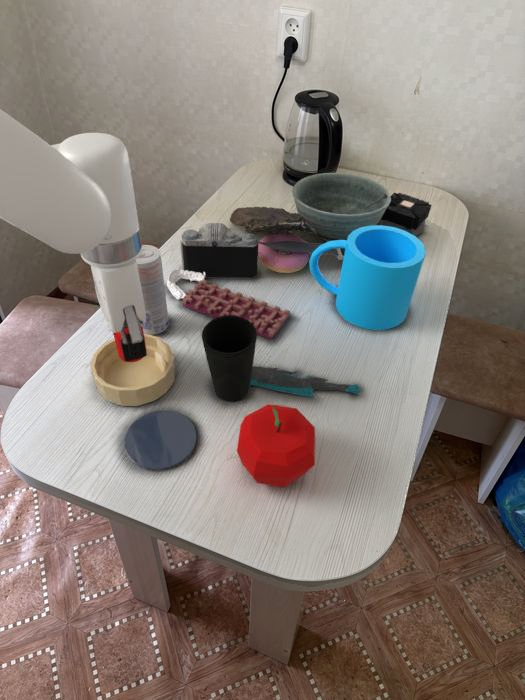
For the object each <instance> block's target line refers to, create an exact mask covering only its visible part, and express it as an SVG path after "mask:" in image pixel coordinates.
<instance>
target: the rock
mask: <svg viewBox="0 0 525 700" xmlns="http://www.w3.org/2000/svg"><path fill="white" fill-rule="evenodd" d="M229 222H230V223H231V224H232V225H234V226H237V227H241V228H242V229H244V230H249V231H250V230H251V231H255V232H261V231H264V232H272V233H273V232H276V233H280V234H286V233H289V232H290V233H291V232H298V231H299V232H301V233H311V234H313V235H315V234H316V231H315V228H313V227H312V224H311V223H309V222H308V220H307V219H305V218H304V217H303V216H301V214H299V213H298V212H289V211H287V210H286V209H284V208H281V207H280V208H278V207H271V206H270V207H267V206H261V207H260V206H247V207H237V208H235V209H234V210H232V213H231V215H230V217H229Z"/></svg>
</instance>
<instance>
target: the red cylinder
mask: <svg viewBox="0 0 525 700" xmlns="http://www.w3.org/2000/svg"><path fill="white" fill-rule="evenodd" d="M141 330H142V334H143V336H144V332H143V327H142V326H141ZM125 333H126V334H128V333H129V330H128V328H125ZM112 334H113V338H115V343H116V347H117V352H118V356H119V358H120V359H121V360H123V361H125V359H124V356H123V351H122V346H121V342H120V340H122V337H121V333H120V332H116V333H113V332H112ZM144 342H145V338H144ZM145 347H146V344H145ZM146 352H147V350H146ZM142 358H143V357H142ZM142 358H139V359H135V360H132V361H128V362H136V361H139V360H141V359H142ZM125 362H126V361H125Z"/></svg>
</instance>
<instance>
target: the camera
mask: <svg viewBox="0 0 525 700" xmlns="http://www.w3.org/2000/svg"><path fill="white" fill-rule="evenodd" d="M179 242H180V243H179V244H180V256H181V267H182V269H183V270H185V271H186V270H188V271H189V272H190V271H193V272H196V273H197V272H200V273H202V274H204V273H203V272H205V275H206V276H205V278H204V279H247V280H253V279H254V278H256V277H257V275H258V266H259V257H258V246H259V243H258V242H259V240H258V237H257V235H255V234H253V233H244V234H243V235H242V232H239V231H238V232H237V231H232V229H231V228H229V227H228V226H227V225H226V224H224V223H222V222H207V223H206V224H204V225H203V226H202V227H200V228H199V230H198V231H197V230H195V229H191V228H190V229H186V230H184V231H183V232H182V234H181V240H180V241H179ZM182 269H181V270H182Z"/></svg>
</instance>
